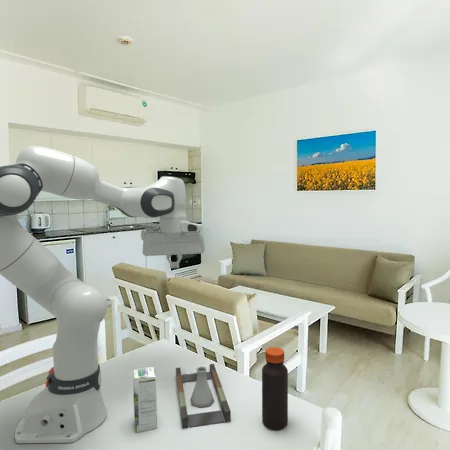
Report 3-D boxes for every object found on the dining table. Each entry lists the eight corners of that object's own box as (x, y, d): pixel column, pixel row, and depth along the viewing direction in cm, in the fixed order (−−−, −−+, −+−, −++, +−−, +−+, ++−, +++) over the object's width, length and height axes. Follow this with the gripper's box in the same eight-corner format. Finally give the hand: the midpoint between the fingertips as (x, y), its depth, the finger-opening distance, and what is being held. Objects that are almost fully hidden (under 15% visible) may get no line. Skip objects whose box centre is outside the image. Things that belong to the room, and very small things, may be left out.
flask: (212, 408, 101) (211, 375, 101) (187, 407, 102) (186, 374, 101) (215, 394, 109) (215, 363, 108) (192, 393, 109) (192, 362, 109)
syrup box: (134, 419, 97) (131, 369, 96) (155, 415, 99) (154, 365, 97) (135, 433, 92) (133, 379, 90) (158, 428, 93) (156, 376, 92)
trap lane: (182, 428, 93) (182, 417, 93) (176, 376, 120) (175, 367, 119) (230, 421, 96) (230, 411, 95) (213, 372, 122) (213, 363, 122)
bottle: (293, 425, 94) (293, 353, 92) (272, 434, 90) (272, 359, 89) (277, 411, 100) (277, 343, 98) (257, 419, 96) (256, 349, 94)
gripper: (140, 228, 111) (141, 271, 112) (205, 226, 115) (205, 268, 116) (141, 226, 117) (142, 267, 118) (202, 224, 121) (203, 264, 122)
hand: (174, 267), depth 117 cm, fingers closed
